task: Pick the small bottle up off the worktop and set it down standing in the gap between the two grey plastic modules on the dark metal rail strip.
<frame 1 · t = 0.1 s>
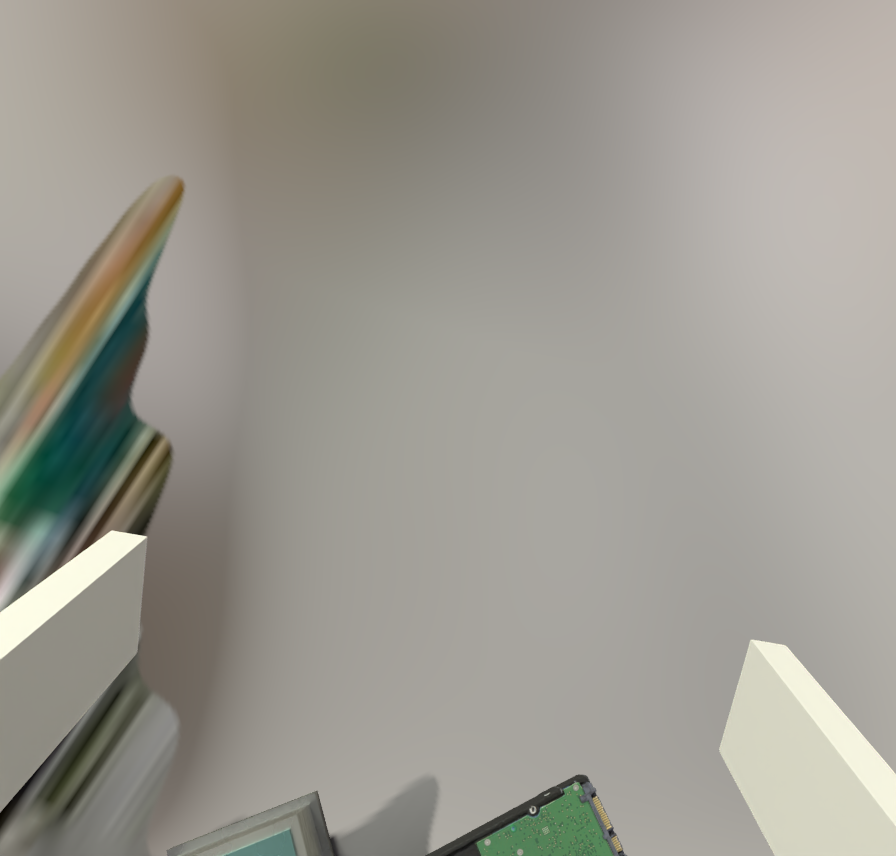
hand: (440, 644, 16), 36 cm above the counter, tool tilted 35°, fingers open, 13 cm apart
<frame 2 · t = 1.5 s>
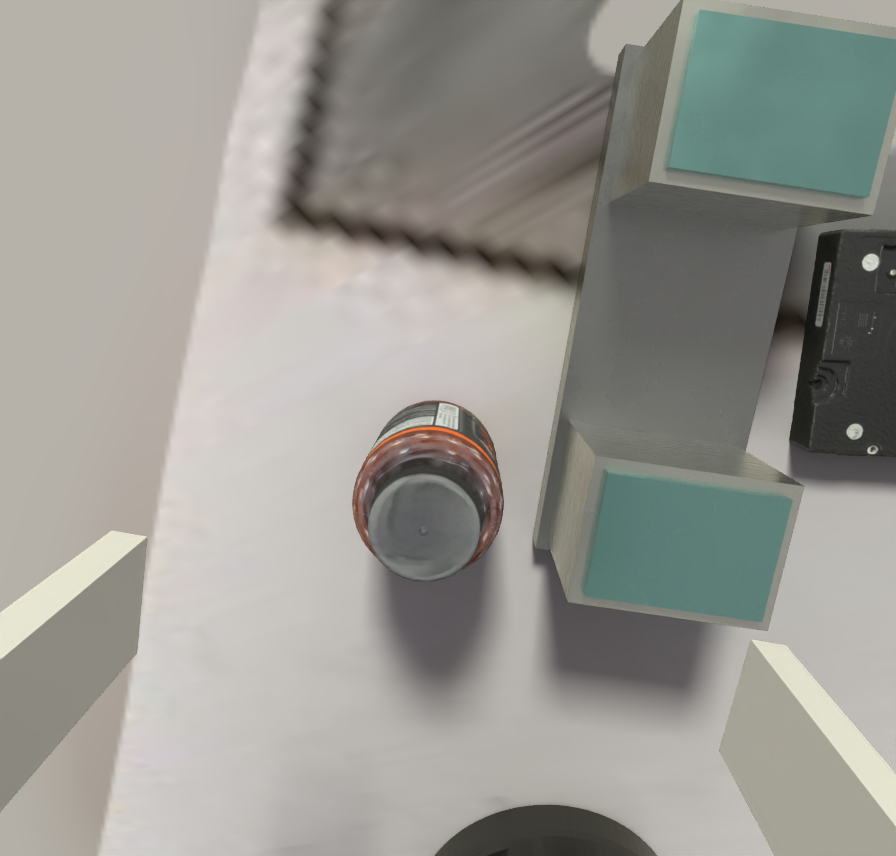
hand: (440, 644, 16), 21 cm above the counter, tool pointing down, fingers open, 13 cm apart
supplement bottle: (435, 455, 37), on the counter
rail: (665, 325, 35), on the counter
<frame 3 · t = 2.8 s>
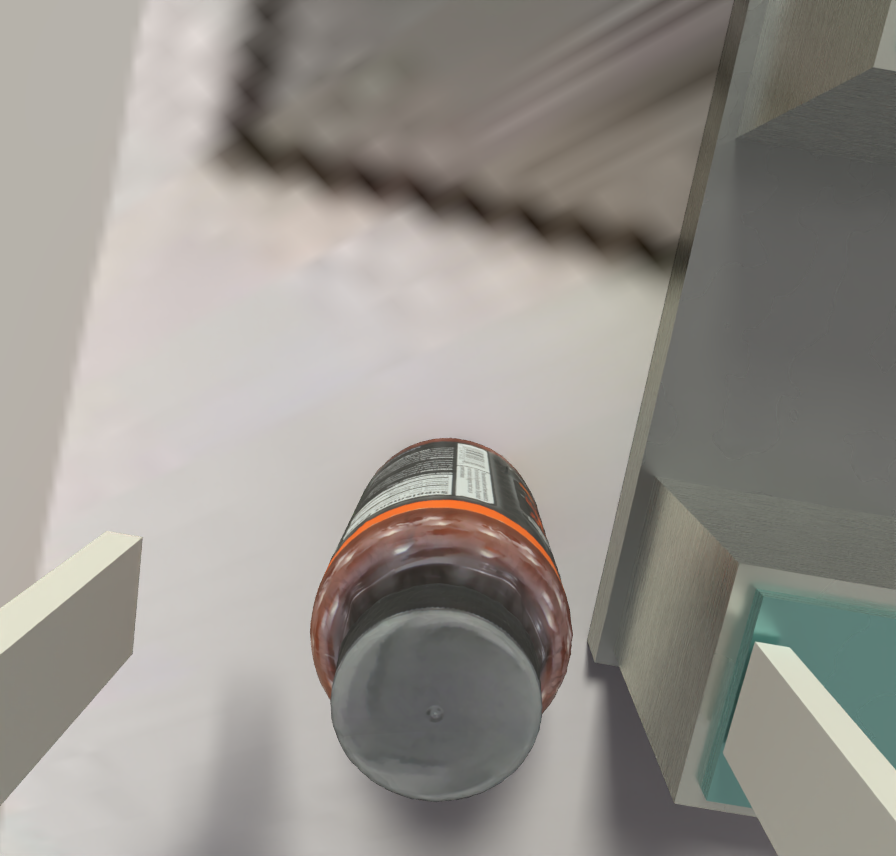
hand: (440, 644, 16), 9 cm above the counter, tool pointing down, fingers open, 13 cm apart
supplement bottle: (448, 516, 25), on the counter
rail: (802, 334, 23), on the counter
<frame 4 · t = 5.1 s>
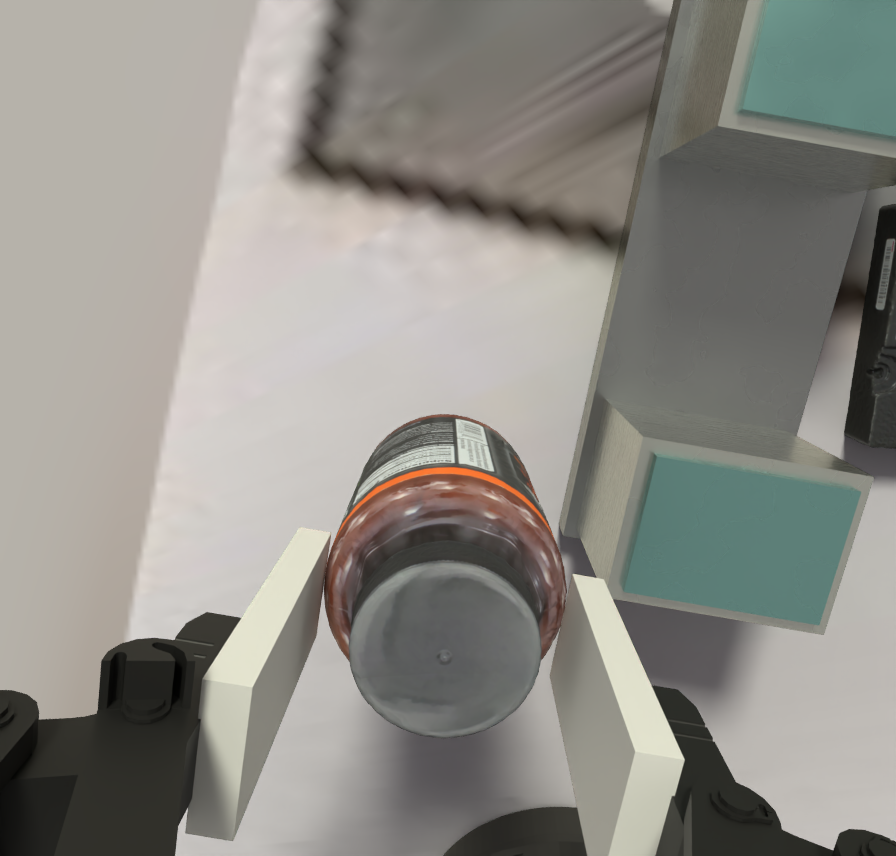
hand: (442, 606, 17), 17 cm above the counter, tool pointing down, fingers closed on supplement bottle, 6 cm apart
supplement bottle: (444, 489, 26), point 8 cm above the counter, touching gripper
rail: (713, 297, 32), on the counter
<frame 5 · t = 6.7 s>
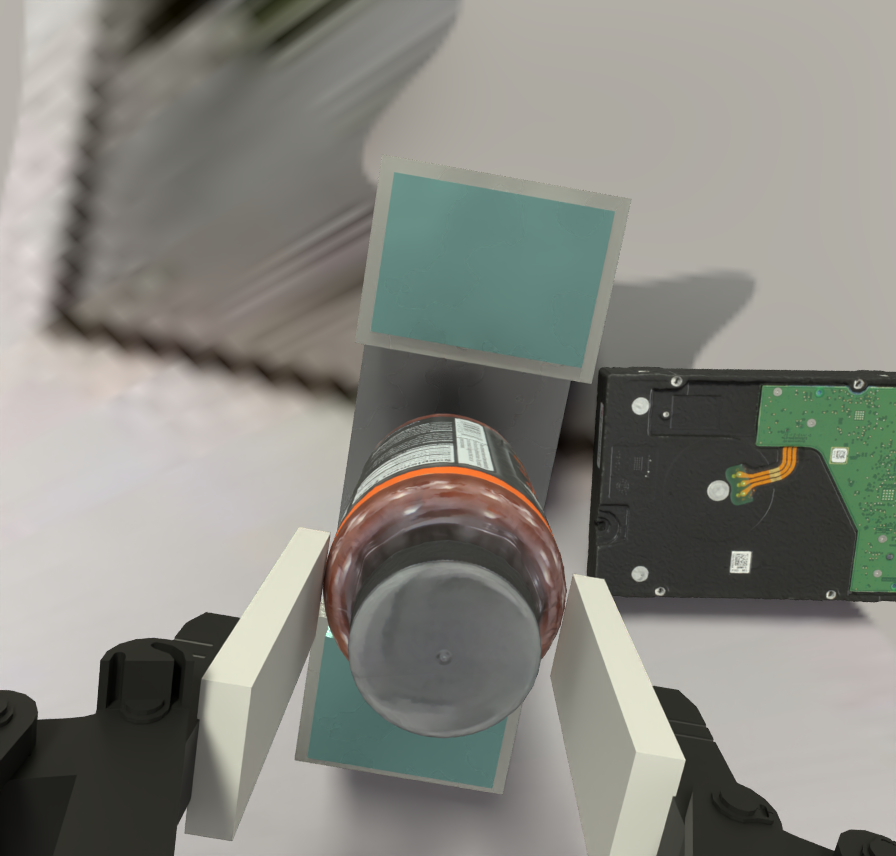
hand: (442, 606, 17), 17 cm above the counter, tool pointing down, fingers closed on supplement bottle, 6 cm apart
supplement bottle: (444, 489, 26), point 8 cm above the counter, touching gripper
disk drive: (745, 473, 34), on the counter
rail: (451, 447, 34), on the counter
when the fingers open (10 cm above the counter, at t = 8.6 s): supplement bottle stays where it is, resting on rail.
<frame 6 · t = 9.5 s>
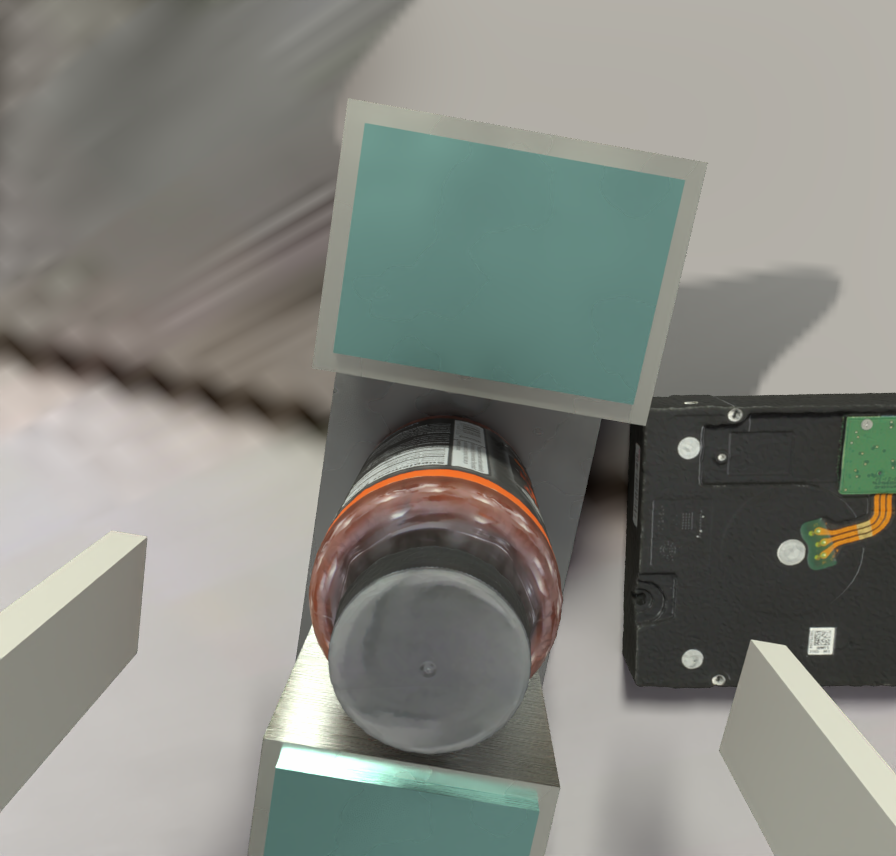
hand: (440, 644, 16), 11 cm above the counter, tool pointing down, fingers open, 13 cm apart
supplement bottle: (445, 493, 25), point 1 cm above the counter, touching rail
disk drive: (819, 523, 27), on the counter
rail: (450, 490, 27), on the counter
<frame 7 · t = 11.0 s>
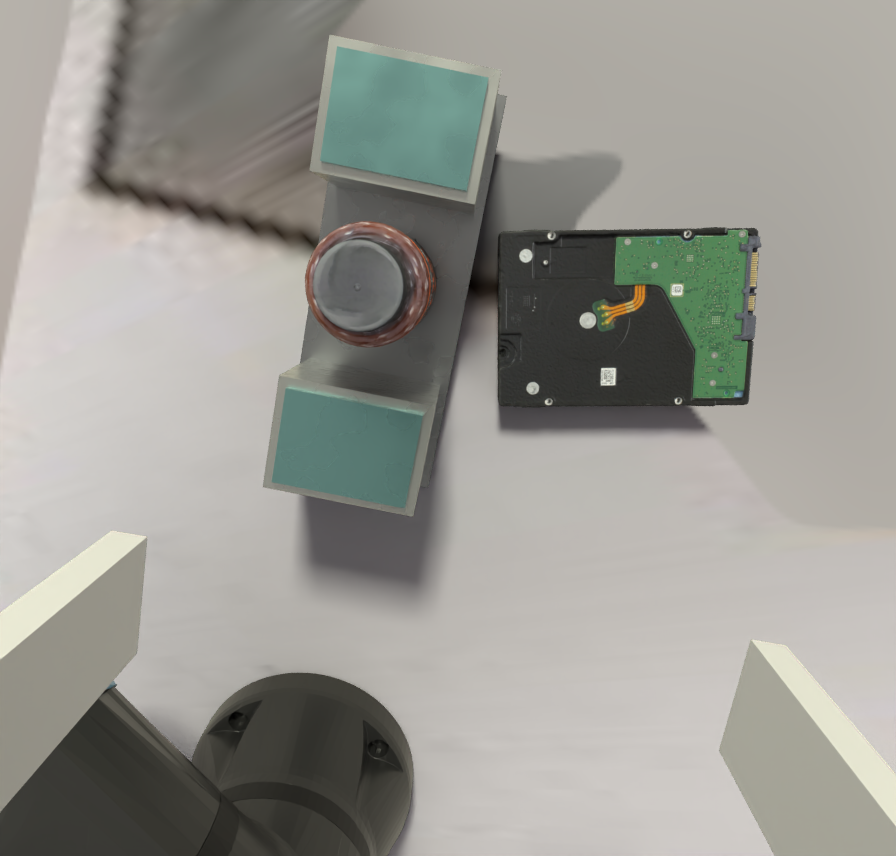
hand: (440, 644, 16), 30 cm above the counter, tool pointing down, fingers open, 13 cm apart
supplement bottle: (387, 282, 43), point 1 cm above the counter, touching rail
disk drive: (617, 316, 45), on the counter
rail: (392, 287, 44), on the counter
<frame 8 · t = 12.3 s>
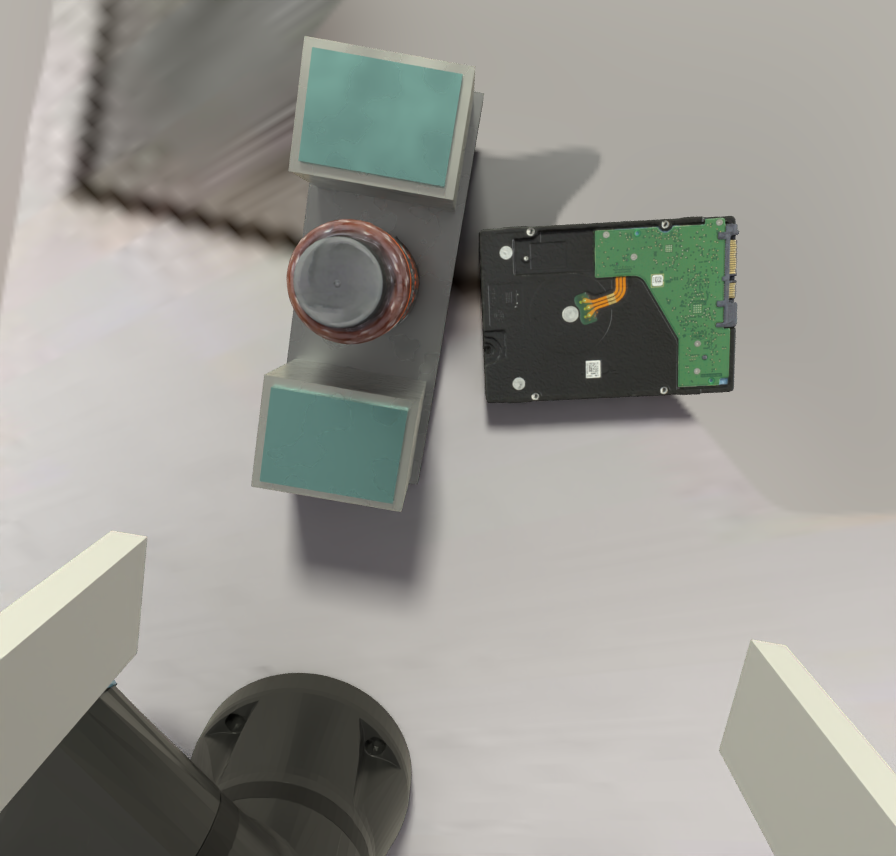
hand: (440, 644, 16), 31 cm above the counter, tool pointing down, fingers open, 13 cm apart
supplement bottle: (371, 281, 43), point 1 cm above the counter, touching rail
disk drive: (600, 309, 45), on the counter
rail: (376, 286, 44), on the counter
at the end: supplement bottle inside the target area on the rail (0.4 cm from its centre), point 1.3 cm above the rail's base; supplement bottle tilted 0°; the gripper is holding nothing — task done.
